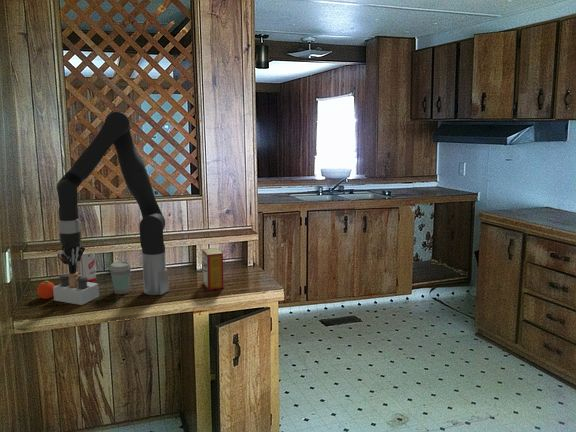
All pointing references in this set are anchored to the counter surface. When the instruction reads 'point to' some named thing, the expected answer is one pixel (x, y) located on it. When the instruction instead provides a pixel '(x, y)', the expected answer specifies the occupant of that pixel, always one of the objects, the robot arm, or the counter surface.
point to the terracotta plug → (73, 280)
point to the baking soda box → (212, 268)
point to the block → (76, 293)
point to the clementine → (45, 290)
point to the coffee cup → (120, 277)
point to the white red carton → (88, 267)
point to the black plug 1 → (64, 280)
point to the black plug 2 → (82, 282)
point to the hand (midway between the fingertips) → (73, 273)
